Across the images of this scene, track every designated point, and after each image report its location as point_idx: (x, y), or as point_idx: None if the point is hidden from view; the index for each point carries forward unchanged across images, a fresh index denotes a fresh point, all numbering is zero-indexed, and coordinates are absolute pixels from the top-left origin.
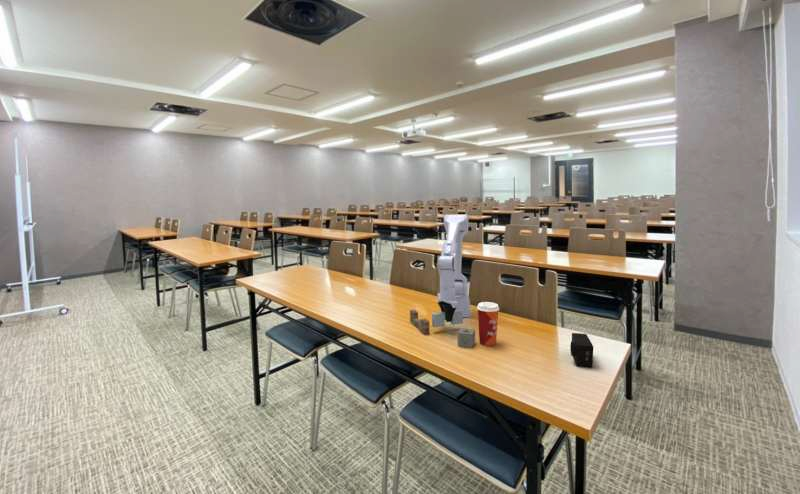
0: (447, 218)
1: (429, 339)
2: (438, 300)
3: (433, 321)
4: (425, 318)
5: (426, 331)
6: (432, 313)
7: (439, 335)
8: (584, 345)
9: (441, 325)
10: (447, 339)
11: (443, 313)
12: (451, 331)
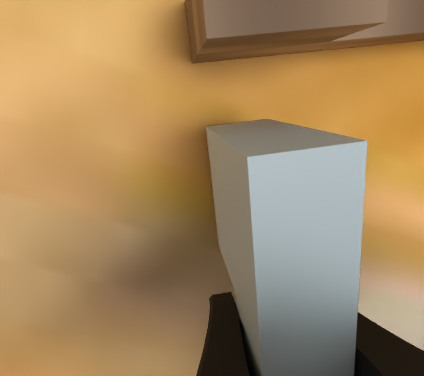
0: None
1: (47, 14)
2: None
3: (246, 130)
4: (377, 21)
5: (190, 18)
6: (349, 145)
7: (140, 152)
8: None
9: (217, 217)
10: (27, 195)
11: (261, 351)
12: (209, 274)
